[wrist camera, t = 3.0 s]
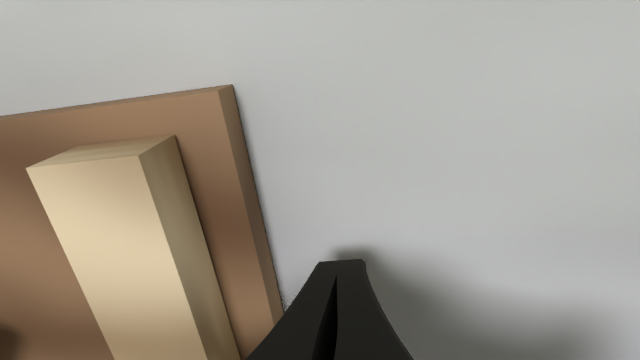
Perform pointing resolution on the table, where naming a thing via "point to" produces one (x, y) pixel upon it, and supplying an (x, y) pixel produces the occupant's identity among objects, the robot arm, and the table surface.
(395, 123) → the table surface
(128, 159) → the link
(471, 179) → the table surface
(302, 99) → the table surface
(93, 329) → the board
